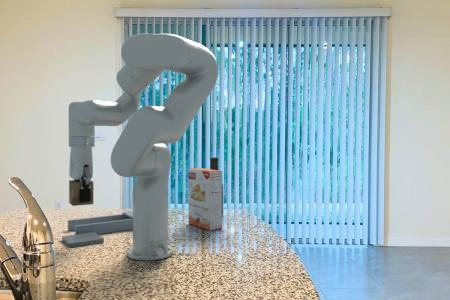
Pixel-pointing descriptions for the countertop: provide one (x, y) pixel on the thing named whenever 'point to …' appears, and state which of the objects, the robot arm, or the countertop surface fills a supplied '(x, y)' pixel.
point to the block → (74, 193)
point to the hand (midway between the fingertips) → (81, 199)
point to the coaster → (82, 239)
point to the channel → (102, 224)
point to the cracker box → (205, 198)
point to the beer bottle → (215, 167)
